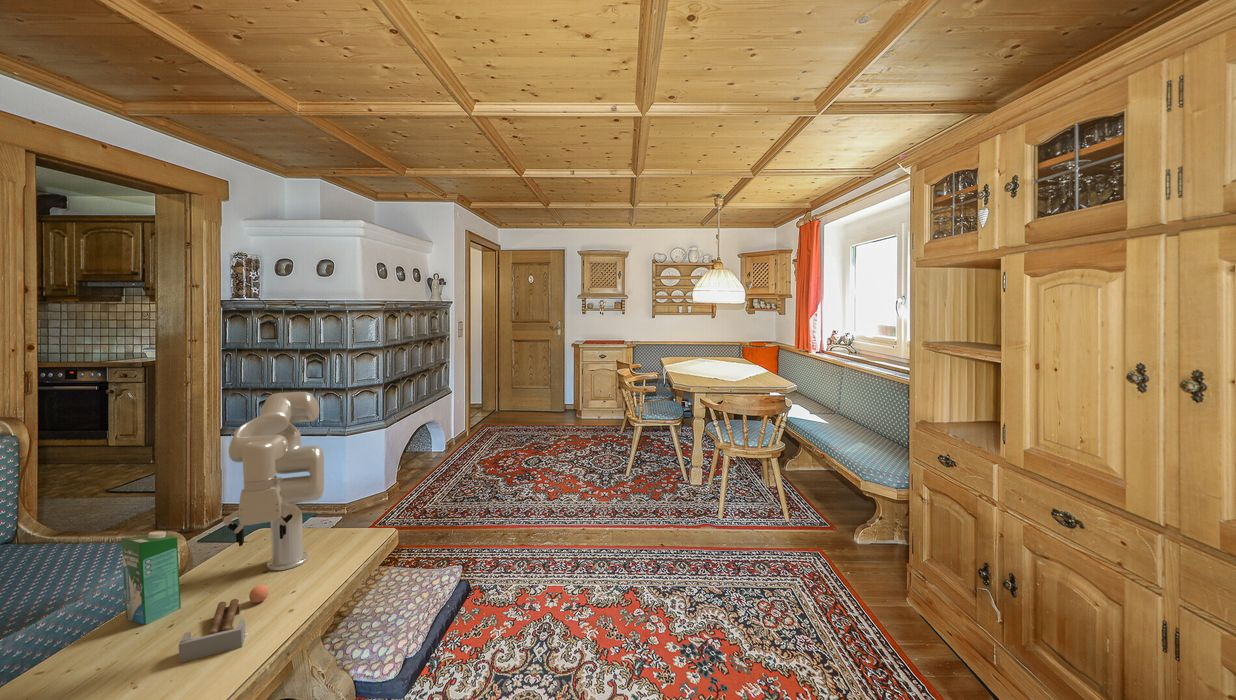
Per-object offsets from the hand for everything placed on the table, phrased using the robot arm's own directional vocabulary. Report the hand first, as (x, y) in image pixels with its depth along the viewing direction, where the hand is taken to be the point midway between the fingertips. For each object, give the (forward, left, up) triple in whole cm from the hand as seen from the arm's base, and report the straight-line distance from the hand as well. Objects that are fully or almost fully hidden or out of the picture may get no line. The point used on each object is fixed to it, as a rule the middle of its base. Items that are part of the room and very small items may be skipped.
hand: (262, 540), depth 140 cm
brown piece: (-5, -10, -25) cm, 27 cm away
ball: (-14, -3, -22) cm, 26 cm away
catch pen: (+7, -10, -25) cm, 28 cm away
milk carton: (-21, -30, -25) cm, 44 cm away
